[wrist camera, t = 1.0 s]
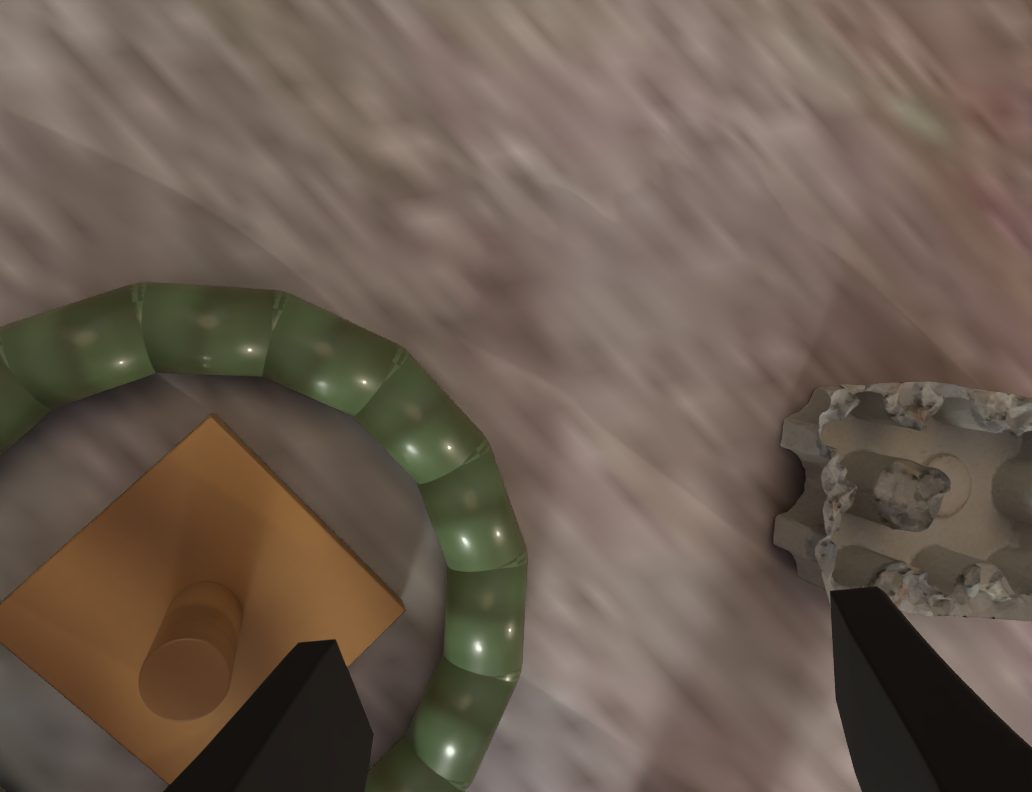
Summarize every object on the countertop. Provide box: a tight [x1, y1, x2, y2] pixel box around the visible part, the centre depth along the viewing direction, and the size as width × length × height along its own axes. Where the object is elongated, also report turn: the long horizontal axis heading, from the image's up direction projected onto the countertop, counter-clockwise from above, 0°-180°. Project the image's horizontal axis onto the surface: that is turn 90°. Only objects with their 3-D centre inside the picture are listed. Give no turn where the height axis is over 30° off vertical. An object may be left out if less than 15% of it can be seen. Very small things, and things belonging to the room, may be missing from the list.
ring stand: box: [0, 413, 406, 785], centre depth 22 cm, size 8×8×6 cm
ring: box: [0, 282, 528, 792], centre depth 24 cm, size 18×18×2 cm
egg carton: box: [773, 381, 1032, 621], centre depth 29 cm, size 11×8×4 cm
